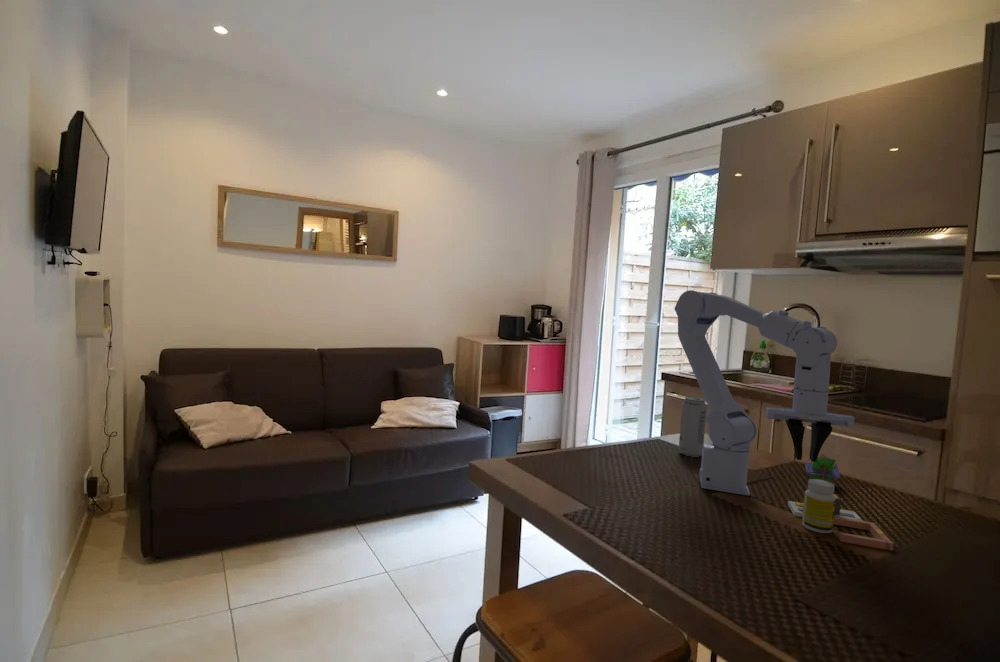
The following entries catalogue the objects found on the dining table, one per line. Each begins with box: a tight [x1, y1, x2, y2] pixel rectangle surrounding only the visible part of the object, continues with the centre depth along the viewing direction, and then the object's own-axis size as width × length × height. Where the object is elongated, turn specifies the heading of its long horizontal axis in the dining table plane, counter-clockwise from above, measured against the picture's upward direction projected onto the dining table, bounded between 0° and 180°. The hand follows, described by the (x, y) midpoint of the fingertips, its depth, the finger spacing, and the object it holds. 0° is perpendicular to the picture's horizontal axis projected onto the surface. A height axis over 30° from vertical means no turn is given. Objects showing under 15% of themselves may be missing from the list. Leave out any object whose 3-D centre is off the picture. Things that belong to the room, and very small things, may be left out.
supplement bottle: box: [801, 478, 836, 534], centre depth 92 cm, size 5×5×8 cm
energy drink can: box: [678, 396, 708, 458], centre depth 135 cm, size 6×6×15 cm
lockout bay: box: [833, 516, 894, 552], centre depth 91 cm, size 8×9×1 cm
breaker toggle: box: [833, 493, 842, 514], centre depth 98 cm, size 3×3×3 cm
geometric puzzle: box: [804, 453, 842, 483], centre depth 118 cm, size 7×7×8 cm
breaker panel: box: [787, 500, 864, 521], centre depth 99 cm, size 12×6×1 cm, turn 71°
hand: (805, 459), depth 99 cm, fingers closed
